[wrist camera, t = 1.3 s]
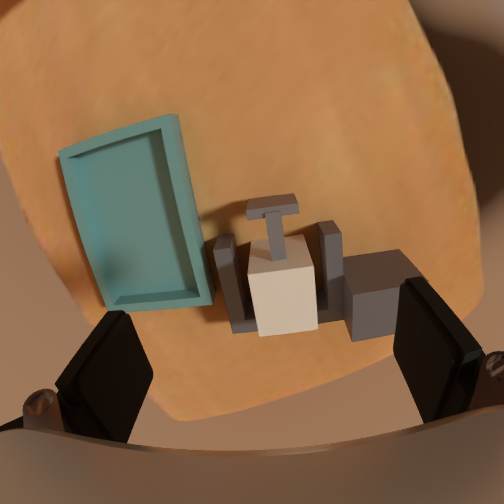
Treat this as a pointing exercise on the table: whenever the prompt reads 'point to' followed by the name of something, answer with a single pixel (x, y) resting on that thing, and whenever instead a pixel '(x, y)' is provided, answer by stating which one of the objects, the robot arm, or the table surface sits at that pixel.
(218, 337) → the table surface
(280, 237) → the t-handle cube
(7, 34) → the table surface
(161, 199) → the tray
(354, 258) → the bay
